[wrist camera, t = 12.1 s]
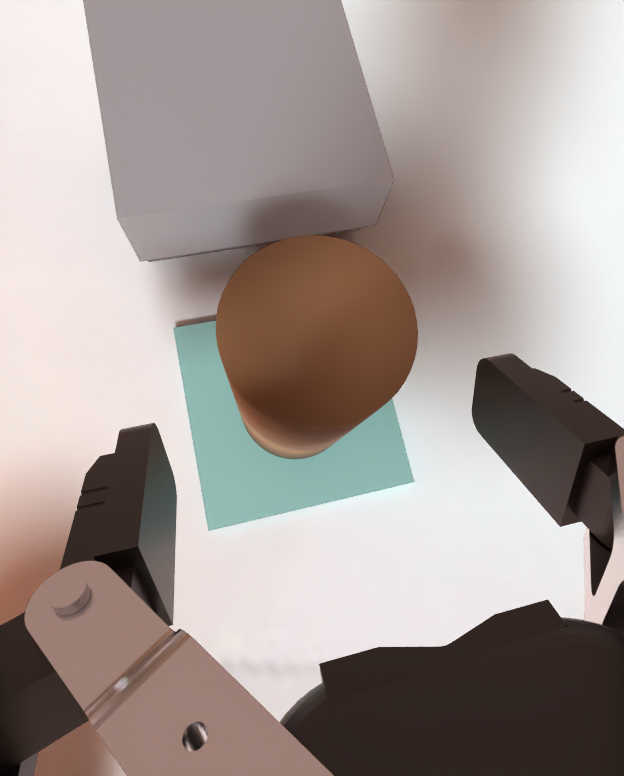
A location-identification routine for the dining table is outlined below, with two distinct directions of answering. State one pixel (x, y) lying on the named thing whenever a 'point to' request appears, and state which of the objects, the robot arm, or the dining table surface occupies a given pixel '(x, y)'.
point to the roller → (313, 341)
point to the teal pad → (264, 470)
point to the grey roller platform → (234, 122)
